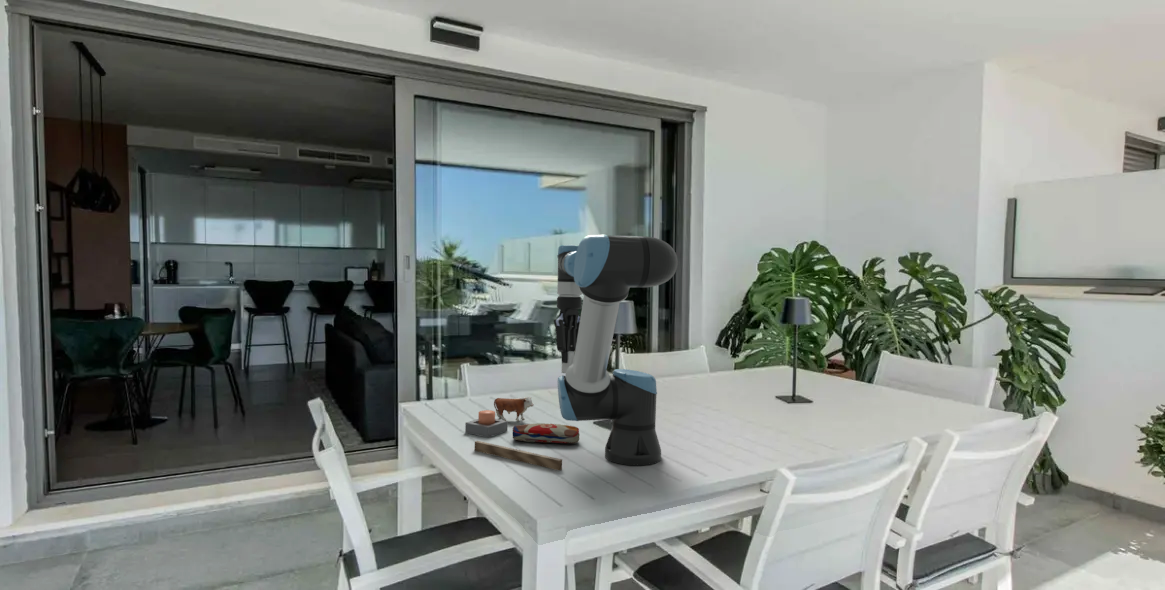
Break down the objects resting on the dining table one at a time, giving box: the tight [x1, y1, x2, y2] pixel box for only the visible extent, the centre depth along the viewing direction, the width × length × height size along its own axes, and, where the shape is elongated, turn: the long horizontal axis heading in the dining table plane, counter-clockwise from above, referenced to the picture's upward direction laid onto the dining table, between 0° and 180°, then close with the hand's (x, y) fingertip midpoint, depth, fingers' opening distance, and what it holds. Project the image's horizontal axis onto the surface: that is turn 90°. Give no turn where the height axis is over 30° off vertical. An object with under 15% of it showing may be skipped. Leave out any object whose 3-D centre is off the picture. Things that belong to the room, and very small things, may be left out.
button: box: [477, 409, 496, 425], centre depth 188 cm, size 5×5×4 cm
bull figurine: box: [493, 396, 535, 422], centre depth 203 cm, size 4×13×8 cm, turn 81°
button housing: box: [464, 418, 509, 438], centre depth 188 cm, size 9×9×3 cm
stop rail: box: [474, 440, 563, 471], centre depth 162 cm, size 28×1×2 cm, turn 58°
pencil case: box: [511, 423, 580, 444], centre depth 179 cm, size 11×20×5 cm, turn 68°
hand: (567, 372), depth 189 cm, fingers closed
